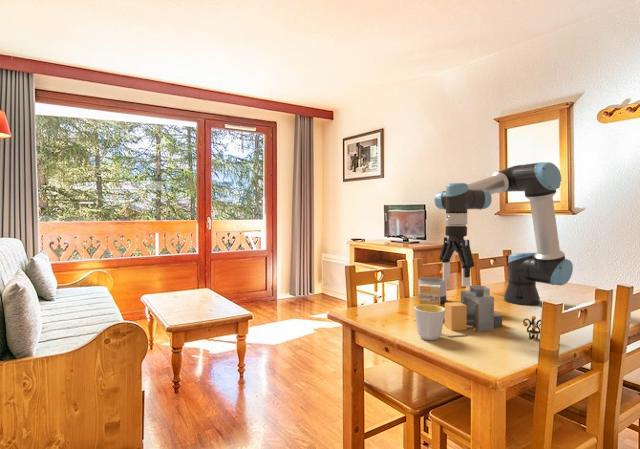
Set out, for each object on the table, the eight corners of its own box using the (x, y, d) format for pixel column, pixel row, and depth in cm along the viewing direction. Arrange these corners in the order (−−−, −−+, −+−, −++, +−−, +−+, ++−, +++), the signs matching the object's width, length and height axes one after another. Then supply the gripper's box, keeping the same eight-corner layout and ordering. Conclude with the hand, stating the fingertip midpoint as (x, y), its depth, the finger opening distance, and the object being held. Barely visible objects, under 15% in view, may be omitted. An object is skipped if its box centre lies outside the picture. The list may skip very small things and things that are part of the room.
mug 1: (442, 344, 125) (442, 313, 124) (410, 340, 129) (410, 309, 129) (448, 332, 137) (449, 303, 136) (420, 328, 141) (420, 300, 141)
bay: (442, 321, 151) (442, 320, 151) (467, 335, 133) (467, 335, 133) (426, 322, 149) (425, 321, 149) (449, 337, 132) (449, 336, 132)
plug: (494, 323, 148) (495, 300, 147) (503, 326, 143) (503, 303, 142) (444, 326, 144) (444, 302, 143) (451, 330, 139) (451, 306, 139)
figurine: (520, 336, 131) (523, 314, 130) (530, 335, 133) (533, 312, 132) (533, 342, 127) (535, 319, 126) (543, 340, 129) (545, 317, 128)
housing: (474, 321, 150) (475, 284, 149) (493, 331, 138) (494, 291, 137) (460, 322, 149) (460, 285, 148) (478, 332, 137) (478, 292, 136)
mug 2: (485, 316, 156) (486, 290, 156) (464, 313, 162) (465, 287, 161) (494, 310, 165) (495, 285, 165) (474, 307, 171) (474, 283, 170)
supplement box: (418, 317, 156) (419, 285, 156) (420, 314, 161) (420, 283, 160) (439, 319, 153) (440, 286, 153) (440, 315, 158) (440, 284, 157)
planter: (452, 301, 181) (452, 280, 181) (434, 306, 174) (434, 283, 174) (430, 296, 192) (430, 276, 192) (412, 300, 185) (412, 279, 184)
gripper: (431, 224, 152) (430, 277, 153) (465, 226, 127) (464, 289, 128) (448, 224, 153) (447, 276, 154) (485, 226, 129) (484, 289, 129)
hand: (455, 282), depth 141 cm, fingers open, 13 cm apart
